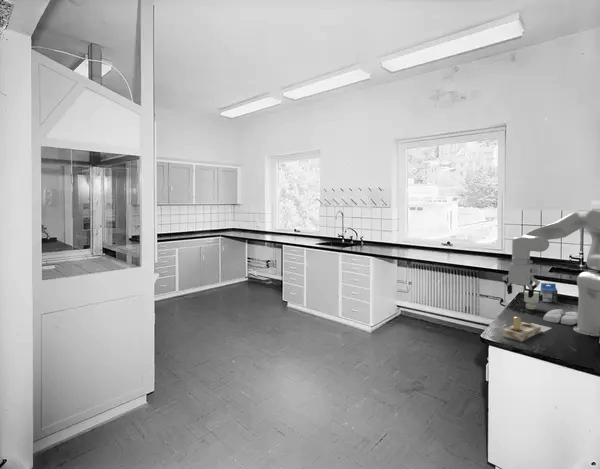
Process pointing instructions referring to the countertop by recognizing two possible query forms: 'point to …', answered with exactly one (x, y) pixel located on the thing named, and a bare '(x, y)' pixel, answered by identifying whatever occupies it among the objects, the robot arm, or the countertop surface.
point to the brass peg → (516, 324)
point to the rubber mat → (543, 327)
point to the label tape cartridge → (549, 292)
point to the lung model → (557, 314)
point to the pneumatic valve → (531, 299)
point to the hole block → (522, 331)
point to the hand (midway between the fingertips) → (519, 295)
